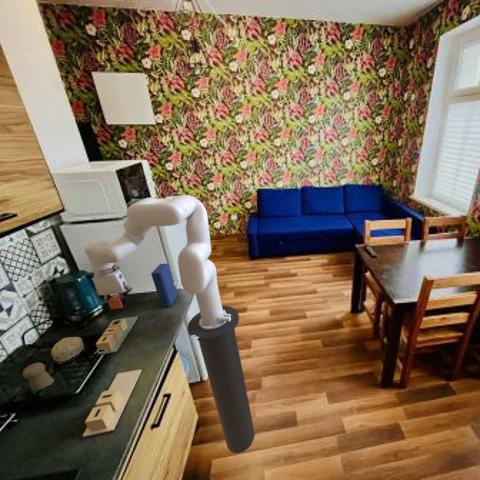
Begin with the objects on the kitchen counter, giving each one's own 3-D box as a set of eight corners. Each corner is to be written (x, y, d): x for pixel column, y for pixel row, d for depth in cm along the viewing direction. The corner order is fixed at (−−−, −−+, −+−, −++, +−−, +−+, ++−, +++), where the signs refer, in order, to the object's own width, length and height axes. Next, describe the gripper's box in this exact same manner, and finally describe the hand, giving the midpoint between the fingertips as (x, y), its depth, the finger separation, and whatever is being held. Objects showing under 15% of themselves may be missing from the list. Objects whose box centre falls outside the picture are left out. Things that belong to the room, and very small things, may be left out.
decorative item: (68, 372, 104) (77, 356, 101) (40, 363, 101) (48, 345, 98) (85, 353, 112) (94, 338, 110) (60, 344, 109) (68, 328, 107)
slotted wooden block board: (113, 430, 80) (107, 419, 78) (83, 437, 78) (76, 426, 76) (141, 370, 100) (137, 360, 97) (118, 374, 98) (113, 364, 96)
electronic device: (168, 296, 143) (158, 263, 135) (178, 295, 143) (169, 263, 135) (160, 307, 134) (149, 273, 126) (171, 306, 134) (161, 272, 126)
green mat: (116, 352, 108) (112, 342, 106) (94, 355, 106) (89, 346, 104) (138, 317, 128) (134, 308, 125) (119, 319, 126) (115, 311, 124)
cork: (55, 379, 97) (41, 356, 92) (59, 387, 94) (46, 364, 89) (32, 391, 92) (17, 368, 88) (36, 401, 89) (20, 377, 85)
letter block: (122, 307, 119) (119, 299, 117) (110, 309, 118) (107, 300, 116) (126, 301, 123) (123, 293, 121) (115, 303, 122) (112, 294, 120)
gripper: (131, 263, 118) (142, 297, 125) (87, 268, 115) (102, 303, 122) (123, 272, 111) (136, 307, 118) (77, 277, 108) (93, 313, 115)
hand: (118, 304), depth 120 cm, fingers closed on letter block, 4 cm apart
